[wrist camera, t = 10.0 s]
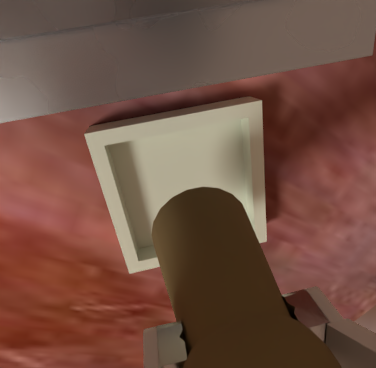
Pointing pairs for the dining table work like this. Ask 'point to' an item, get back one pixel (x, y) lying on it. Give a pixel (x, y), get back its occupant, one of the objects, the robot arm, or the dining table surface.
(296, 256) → the dining table surface
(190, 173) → the tray
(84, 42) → the box
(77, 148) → the dining table surface
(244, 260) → the cork
